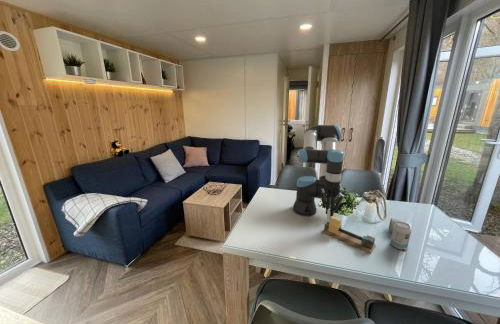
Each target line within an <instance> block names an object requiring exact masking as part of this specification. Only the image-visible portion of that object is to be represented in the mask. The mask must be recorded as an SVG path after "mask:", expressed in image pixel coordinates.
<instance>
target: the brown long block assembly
mask: <svg viewBox="0 0 500 324" xmlns="http://www.w3.org/2000/svg"><path fill="white" fill-rule="evenodd" d="M329 224H330V221H329V222H328V221H326V223H325V224H324V228H323V230H322V232H321V233H322V234H324V235H327V236H329V237H331V238H332V239H335V240H338V241H339V242H342V243H344V244H346V245H348V246H350V247H353V248H354V249H357V250H360V251H362V252H364V253H366V254H369V255H371V254H372V253H373V251H374V250H375V248H376V244H377V243H375V241H376V237H374V236H370V235H368V234H367V235H363V236H360V235H358V234H356V233H354V232H351V231H348V230H345V229H344V228H342V227H341V228H339V230H338V231H339V232H340V233H339V234H338V235H336V234H334V233H332V232H330V231H328V229H329Z"/></svg>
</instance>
